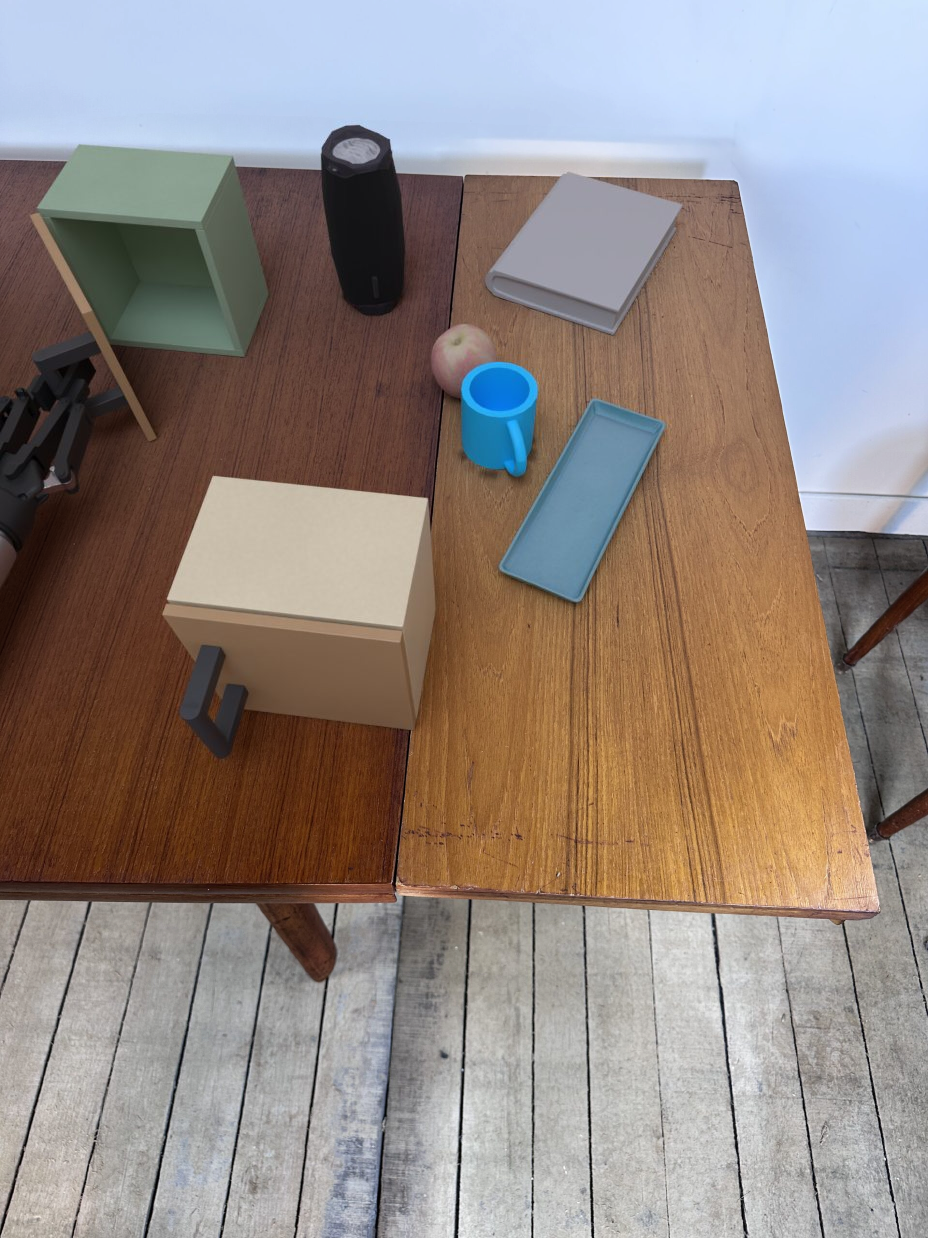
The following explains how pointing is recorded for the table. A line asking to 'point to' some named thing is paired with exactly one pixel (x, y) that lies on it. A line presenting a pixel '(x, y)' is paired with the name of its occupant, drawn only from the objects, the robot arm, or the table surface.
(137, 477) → the table surface
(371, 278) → the portable speaker
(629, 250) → the book
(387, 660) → the beige drawer front
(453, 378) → the apple
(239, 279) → the green cupboard
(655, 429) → the rectangular tray
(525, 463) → the mug
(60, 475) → the robot arm
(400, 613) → the cream cupboard
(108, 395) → the tan wooden panel
